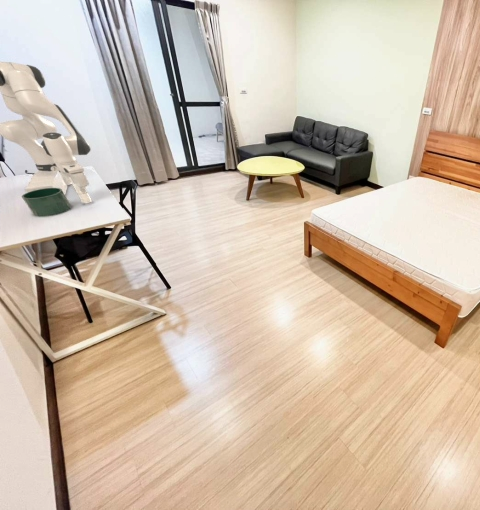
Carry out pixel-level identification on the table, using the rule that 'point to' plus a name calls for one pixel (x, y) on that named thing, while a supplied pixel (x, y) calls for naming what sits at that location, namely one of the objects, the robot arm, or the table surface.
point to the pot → (47, 201)
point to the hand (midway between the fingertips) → (81, 190)
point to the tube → (81, 193)
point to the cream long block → (46, 181)
